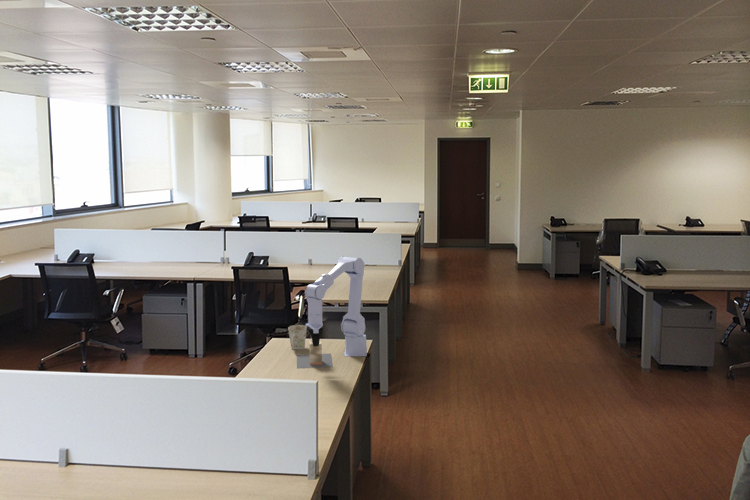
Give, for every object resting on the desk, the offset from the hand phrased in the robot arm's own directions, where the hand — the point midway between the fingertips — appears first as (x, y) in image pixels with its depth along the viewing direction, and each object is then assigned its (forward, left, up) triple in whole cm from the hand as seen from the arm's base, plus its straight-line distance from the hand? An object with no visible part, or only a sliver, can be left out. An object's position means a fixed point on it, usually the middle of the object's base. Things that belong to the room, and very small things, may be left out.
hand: (315, 345), depth 264 cm
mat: (0, -11, -10) cm, 15 cm away
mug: (+8, -29, -11) cm, 31 cm away
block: (0, -8, -10) cm, 12 cm away
